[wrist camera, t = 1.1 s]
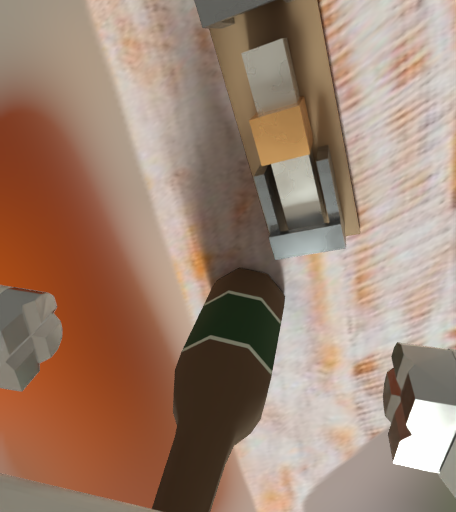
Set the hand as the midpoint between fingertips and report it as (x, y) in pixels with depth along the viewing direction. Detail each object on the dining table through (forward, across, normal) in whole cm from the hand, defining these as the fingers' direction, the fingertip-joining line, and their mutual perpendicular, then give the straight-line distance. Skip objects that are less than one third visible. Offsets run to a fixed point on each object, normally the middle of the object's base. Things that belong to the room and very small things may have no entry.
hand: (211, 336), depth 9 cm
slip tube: (+25, 0, +1) cm, 25 cm away
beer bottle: (+26, +3, +17) cm, 31 cm away
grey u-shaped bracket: (+26, -2, +5) cm, 26 cm away
